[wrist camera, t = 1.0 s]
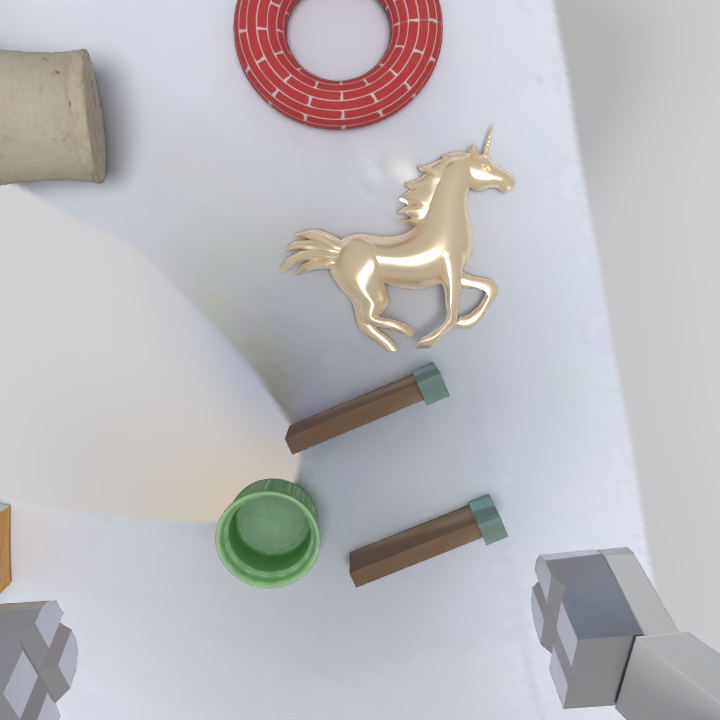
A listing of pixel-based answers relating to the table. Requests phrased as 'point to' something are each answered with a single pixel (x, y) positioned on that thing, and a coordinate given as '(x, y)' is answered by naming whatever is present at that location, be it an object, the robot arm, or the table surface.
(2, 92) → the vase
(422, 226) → the unicorn
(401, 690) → the table surface
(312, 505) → the ramekin
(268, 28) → the torus
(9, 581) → the small box
